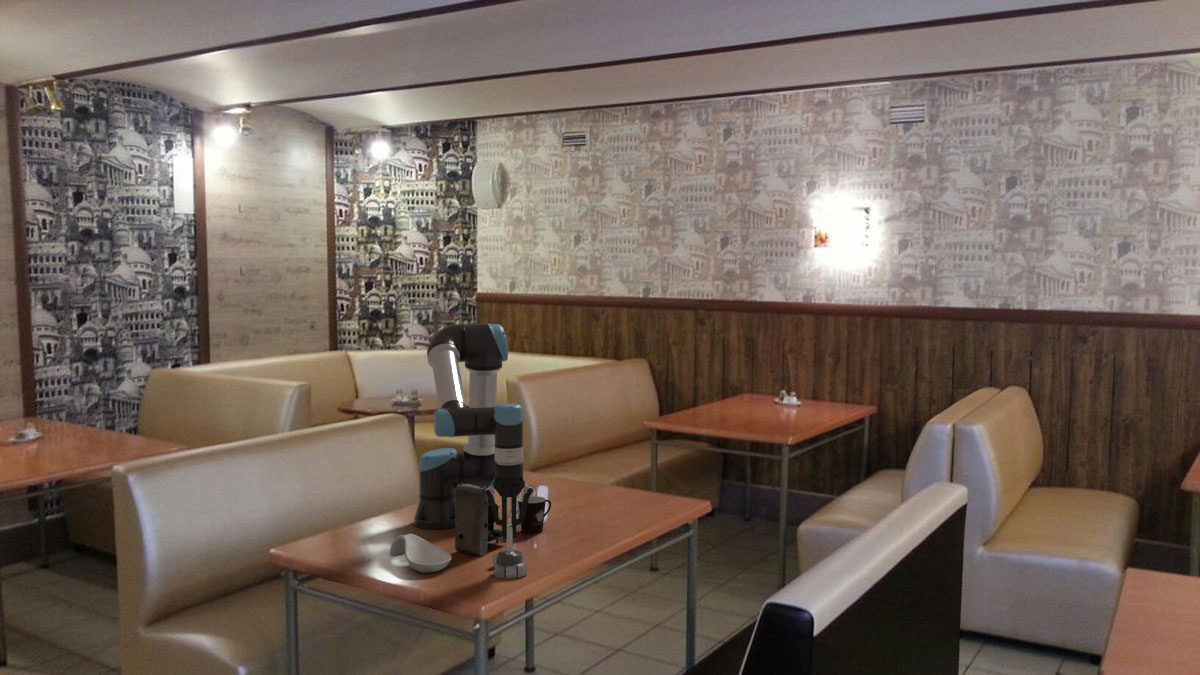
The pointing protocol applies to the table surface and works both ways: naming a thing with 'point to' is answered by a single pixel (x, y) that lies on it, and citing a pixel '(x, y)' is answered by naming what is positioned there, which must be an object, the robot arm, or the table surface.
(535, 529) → the coffee mug
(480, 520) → the vintage camera
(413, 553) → the spoon rest
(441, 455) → the robot arm
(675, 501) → the table surface
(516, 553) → the cap
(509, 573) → the grey segmented ring
